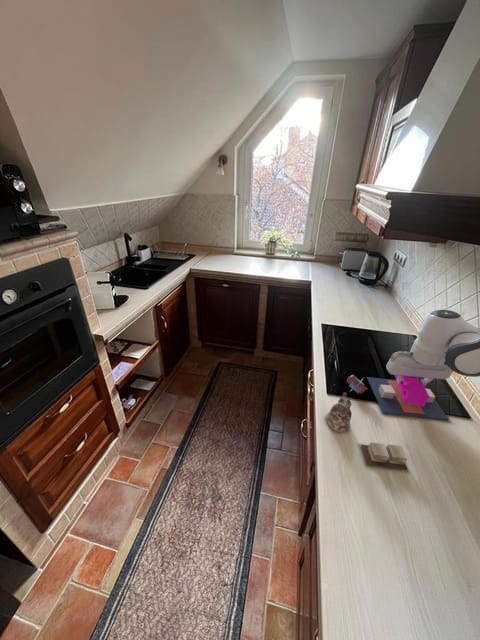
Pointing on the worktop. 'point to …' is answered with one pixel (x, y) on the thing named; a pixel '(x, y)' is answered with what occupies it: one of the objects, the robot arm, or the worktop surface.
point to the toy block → (413, 391)
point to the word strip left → (385, 456)
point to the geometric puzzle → (356, 384)
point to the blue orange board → (395, 405)
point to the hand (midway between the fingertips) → (410, 383)
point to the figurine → (340, 414)
